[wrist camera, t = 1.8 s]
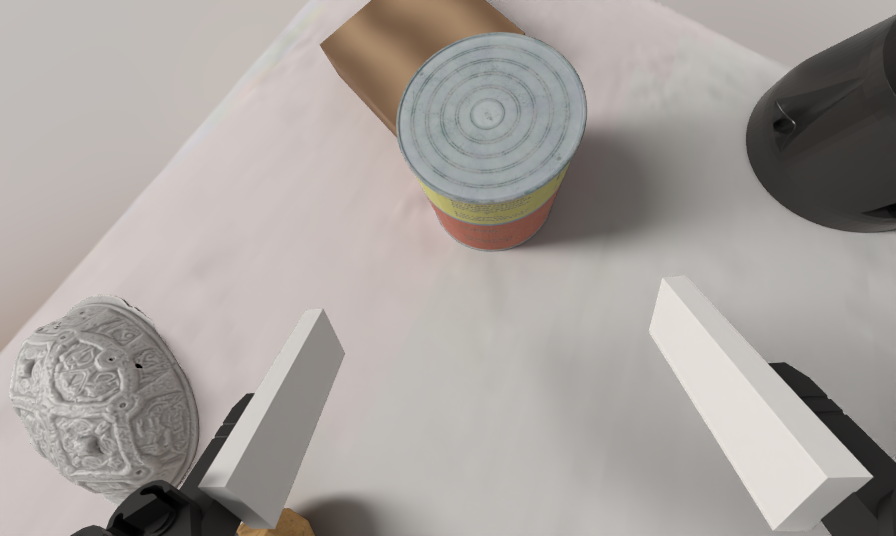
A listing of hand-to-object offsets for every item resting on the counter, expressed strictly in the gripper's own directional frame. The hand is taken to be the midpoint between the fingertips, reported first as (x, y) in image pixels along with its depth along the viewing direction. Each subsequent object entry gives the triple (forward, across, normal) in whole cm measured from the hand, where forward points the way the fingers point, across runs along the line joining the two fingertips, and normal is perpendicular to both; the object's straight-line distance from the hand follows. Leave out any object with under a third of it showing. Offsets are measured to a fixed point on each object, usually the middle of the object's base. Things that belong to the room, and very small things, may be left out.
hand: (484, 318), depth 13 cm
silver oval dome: (+9, -39, -15) cm, 43 cm away
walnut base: (+30, -4, +8) cm, 32 cm away
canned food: (+20, +1, -3) cm, 20 cm away
